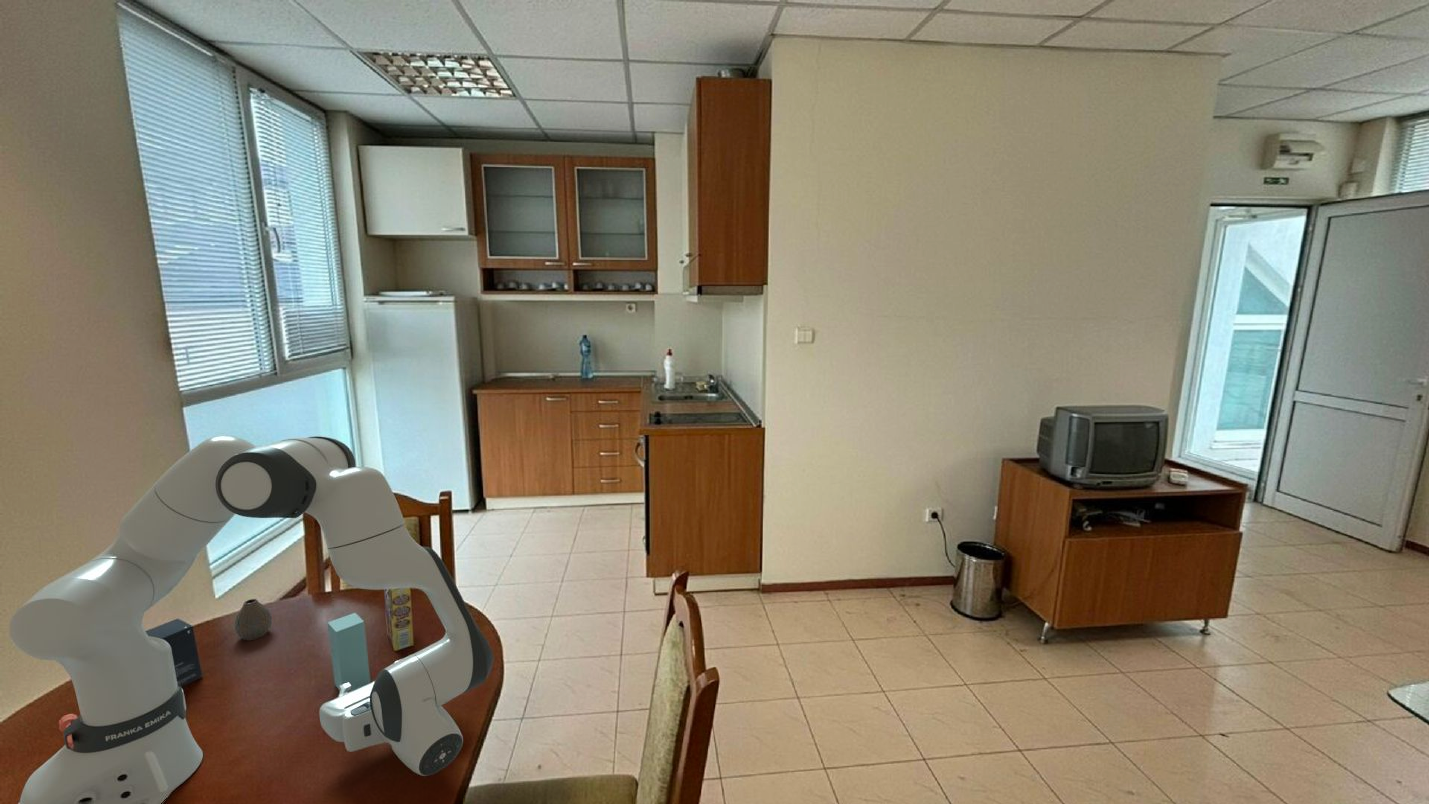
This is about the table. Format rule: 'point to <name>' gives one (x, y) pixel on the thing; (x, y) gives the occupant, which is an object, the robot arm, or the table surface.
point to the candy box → (399, 617)
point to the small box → (180, 649)
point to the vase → (252, 620)
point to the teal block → (349, 651)
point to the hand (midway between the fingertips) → (371, 675)
